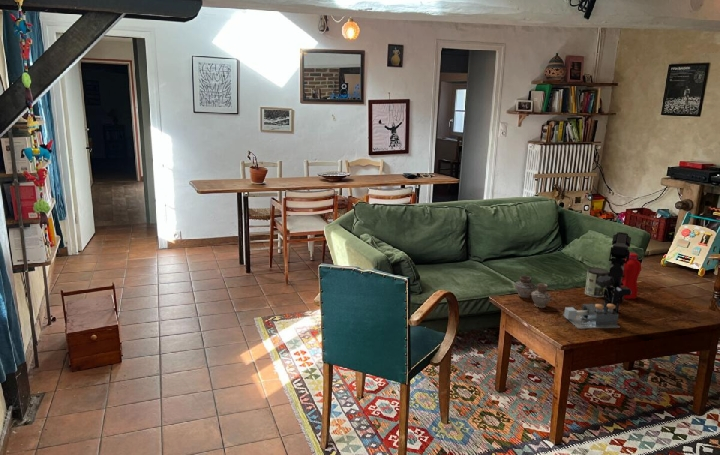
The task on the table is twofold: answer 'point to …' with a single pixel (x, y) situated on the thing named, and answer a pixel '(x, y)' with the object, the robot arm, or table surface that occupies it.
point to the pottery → (533, 291)
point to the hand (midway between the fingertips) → (611, 302)
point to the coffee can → (594, 282)
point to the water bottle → (631, 275)
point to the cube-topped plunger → (574, 313)
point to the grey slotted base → (595, 318)
